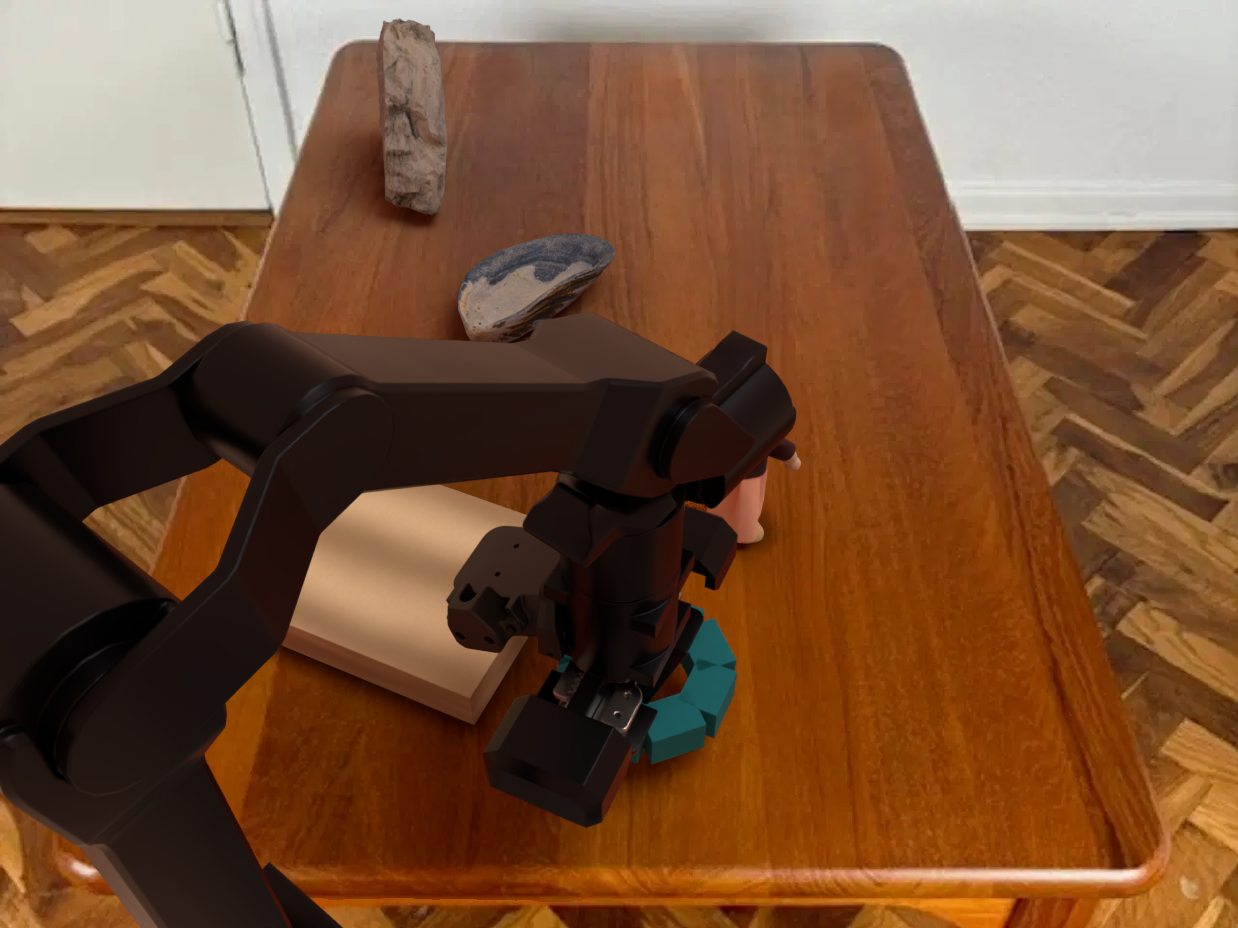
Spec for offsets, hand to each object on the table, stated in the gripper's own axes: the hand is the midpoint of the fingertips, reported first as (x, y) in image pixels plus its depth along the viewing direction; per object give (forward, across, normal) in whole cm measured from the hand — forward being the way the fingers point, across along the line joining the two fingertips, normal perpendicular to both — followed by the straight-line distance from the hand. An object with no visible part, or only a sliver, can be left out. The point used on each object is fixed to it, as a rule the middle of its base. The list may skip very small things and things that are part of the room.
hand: (619, 731), depth 67 cm
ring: (0, -4, 0) cm, 4 cm away
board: (+4, -6, -18) cm, 19 cm away
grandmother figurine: (+4, -20, 0) cm, 20 cm away
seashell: (+4, -35, -23) cm, 42 cm away
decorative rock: (+4, -48, -42) cm, 64 cm away
